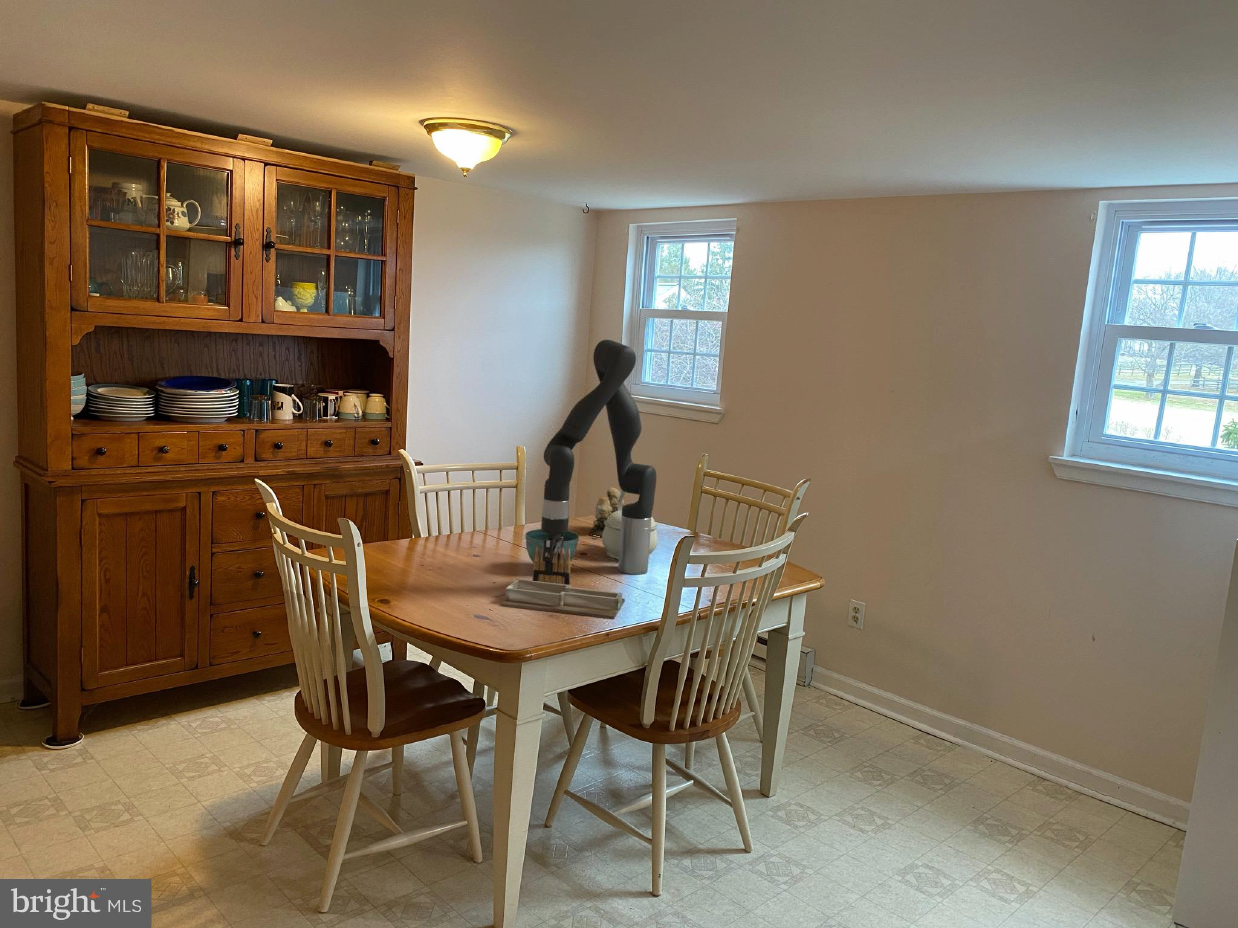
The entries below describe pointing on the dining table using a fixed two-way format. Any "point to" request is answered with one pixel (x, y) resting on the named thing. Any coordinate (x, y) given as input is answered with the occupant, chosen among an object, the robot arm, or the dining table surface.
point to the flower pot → (538, 537)
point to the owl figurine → (605, 510)
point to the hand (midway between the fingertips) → (552, 571)
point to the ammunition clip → (557, 571)
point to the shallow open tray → (562, 599)
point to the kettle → (614, 528)
